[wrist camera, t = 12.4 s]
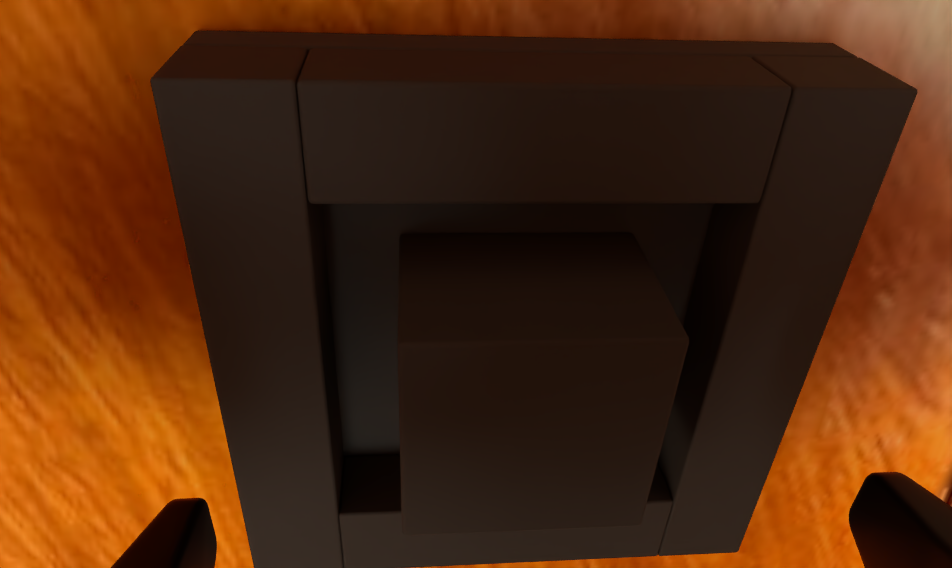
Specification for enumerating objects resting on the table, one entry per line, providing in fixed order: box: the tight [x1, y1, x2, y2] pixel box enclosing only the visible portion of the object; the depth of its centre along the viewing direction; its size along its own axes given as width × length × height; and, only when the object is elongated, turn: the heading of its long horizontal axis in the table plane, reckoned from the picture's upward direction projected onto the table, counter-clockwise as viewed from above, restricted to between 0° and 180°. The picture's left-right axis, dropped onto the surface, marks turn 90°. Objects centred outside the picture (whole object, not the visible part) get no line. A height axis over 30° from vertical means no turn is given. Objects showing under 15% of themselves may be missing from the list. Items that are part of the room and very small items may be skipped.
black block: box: [398, 233, 689, 536], centre depth 12 cm, size 4×4×3 cm
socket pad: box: [150, 31, 917, 568], centre depth 13 cm, size 10×10×2 cm
